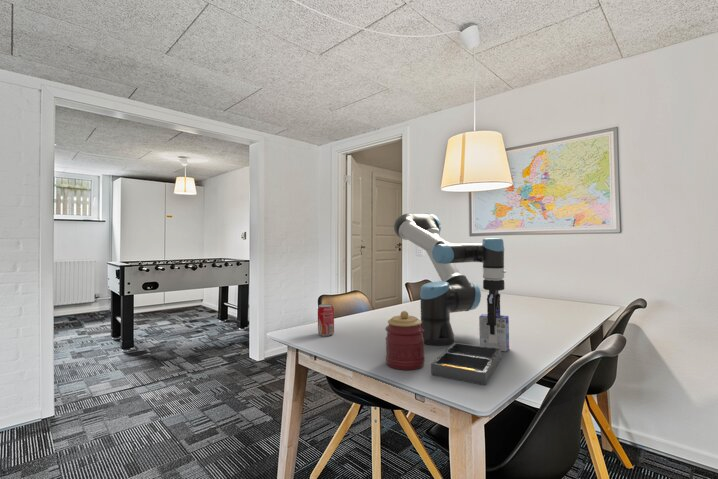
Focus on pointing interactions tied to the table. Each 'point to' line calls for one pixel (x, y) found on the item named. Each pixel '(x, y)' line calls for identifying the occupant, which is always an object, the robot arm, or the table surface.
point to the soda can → (325, 320)
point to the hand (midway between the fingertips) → (494, 340)
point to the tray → (467, 363)
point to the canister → (405, 342)
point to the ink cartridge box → (502, 331)
